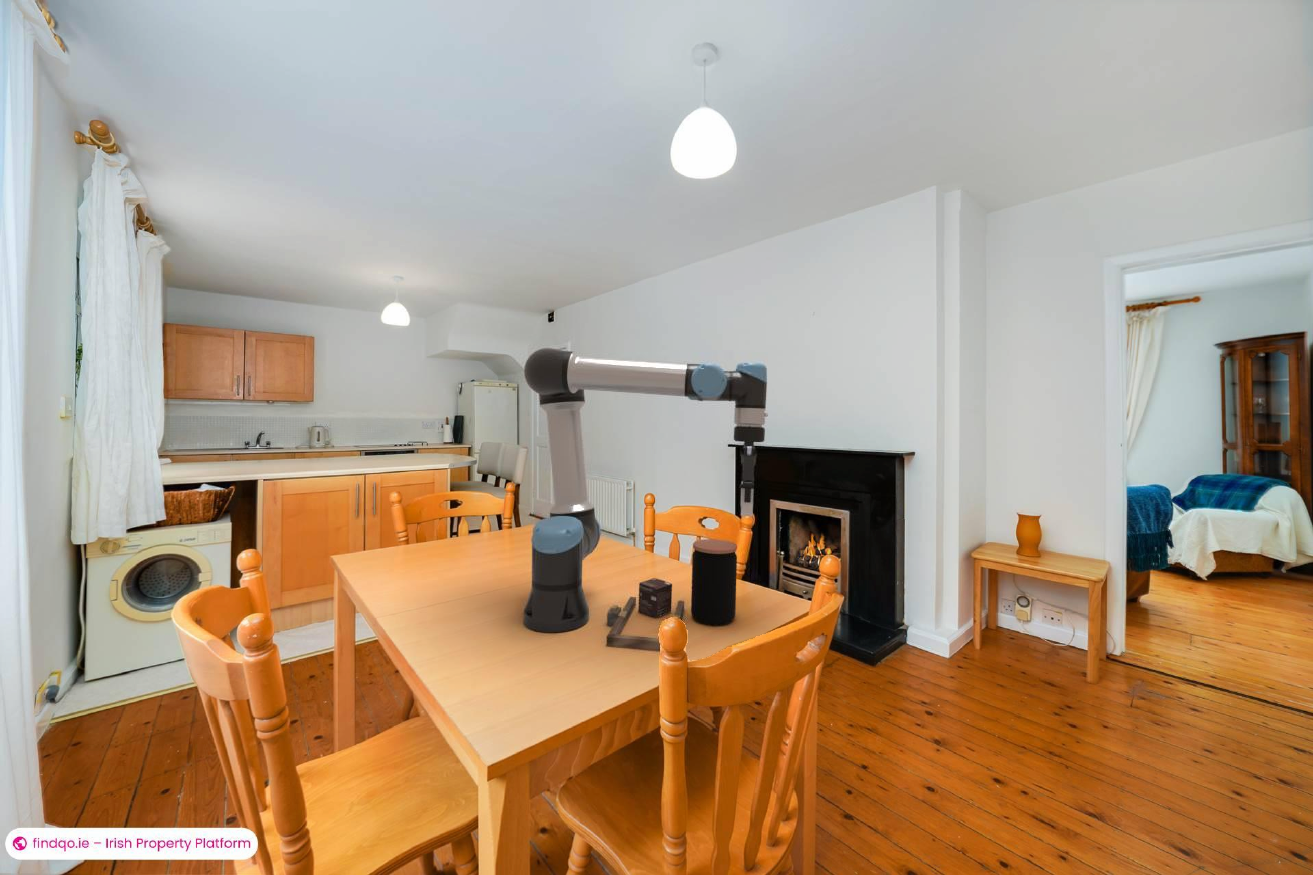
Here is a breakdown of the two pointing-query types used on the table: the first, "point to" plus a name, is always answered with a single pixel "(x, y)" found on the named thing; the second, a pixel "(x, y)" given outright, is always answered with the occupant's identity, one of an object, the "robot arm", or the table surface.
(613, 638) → the brown angular bar frame
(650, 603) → the box
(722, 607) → the coffee jar
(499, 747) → the table surface
